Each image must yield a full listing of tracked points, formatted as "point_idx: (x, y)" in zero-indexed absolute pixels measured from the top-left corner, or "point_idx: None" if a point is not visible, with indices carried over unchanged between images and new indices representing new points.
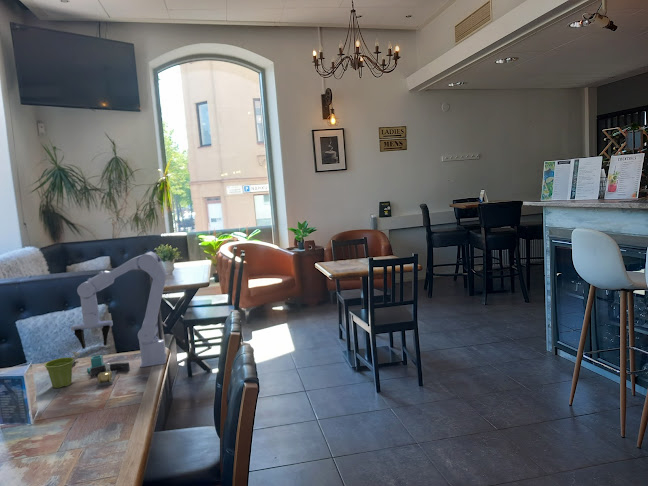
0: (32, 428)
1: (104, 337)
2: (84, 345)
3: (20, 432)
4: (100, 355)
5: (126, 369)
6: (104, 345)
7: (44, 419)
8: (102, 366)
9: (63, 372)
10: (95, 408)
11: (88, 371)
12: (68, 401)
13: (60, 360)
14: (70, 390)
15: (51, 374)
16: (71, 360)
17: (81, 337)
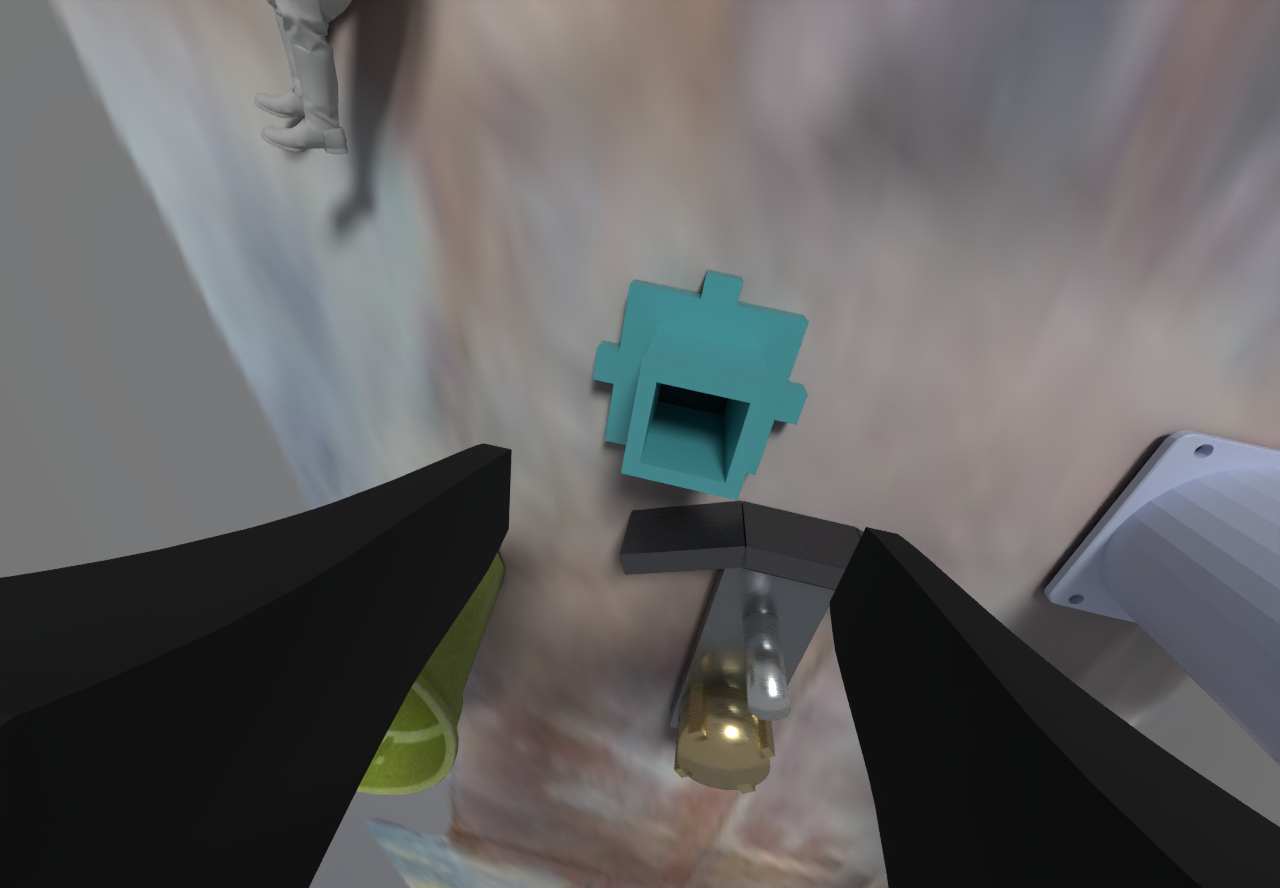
0: (456, 863)
1: (899, 804)
2: (487, 540)
3: (426, 863)
4: (746, 399)
5: None
6: (835, 606)
7: (477, 840)
8: (731, 564)
9: (425, 706)
10: (652, 875)
11: (609, 438)
12: (536, 772)
13: None
14: (522, 666)
15: None
16: (428, 675)
17: (348, 781)
